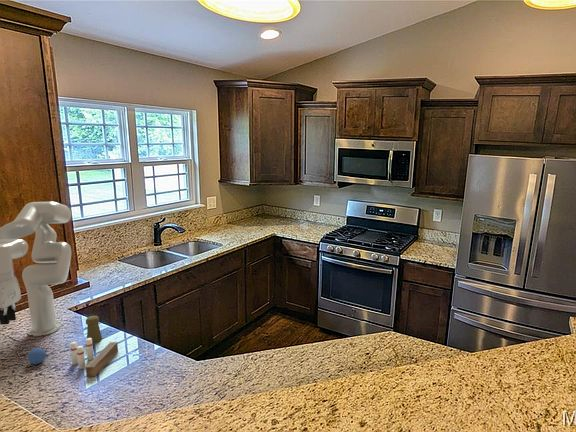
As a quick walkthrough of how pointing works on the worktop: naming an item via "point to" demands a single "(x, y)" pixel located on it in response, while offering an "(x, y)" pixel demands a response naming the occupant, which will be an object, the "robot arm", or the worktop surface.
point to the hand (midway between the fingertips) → (8, 321)
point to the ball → (36, 355)
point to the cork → (93, 329)
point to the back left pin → (89, 349)
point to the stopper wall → (101, 359)
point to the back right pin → (81, 357)
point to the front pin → (74, 353)
